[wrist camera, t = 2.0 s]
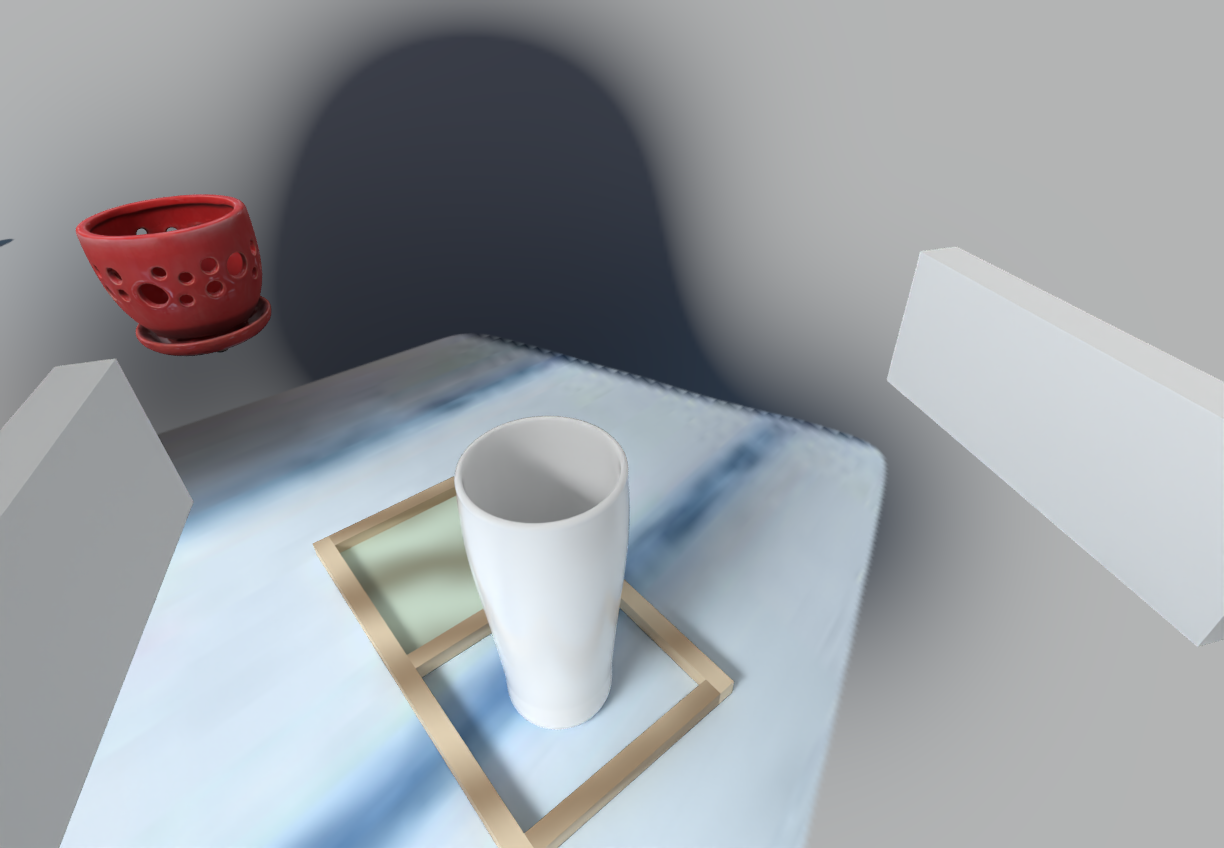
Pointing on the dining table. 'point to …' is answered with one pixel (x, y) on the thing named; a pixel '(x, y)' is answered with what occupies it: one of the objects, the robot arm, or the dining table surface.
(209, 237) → the plant pot
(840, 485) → the dining table surface
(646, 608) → the wooden window frame
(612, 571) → the drinking glass
